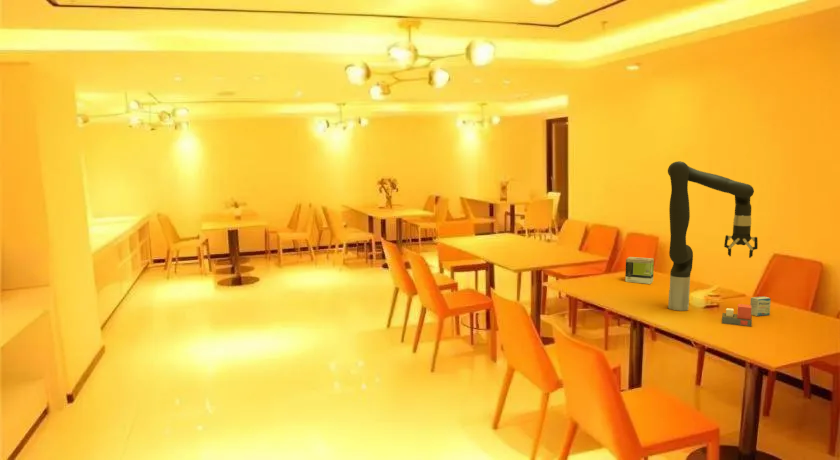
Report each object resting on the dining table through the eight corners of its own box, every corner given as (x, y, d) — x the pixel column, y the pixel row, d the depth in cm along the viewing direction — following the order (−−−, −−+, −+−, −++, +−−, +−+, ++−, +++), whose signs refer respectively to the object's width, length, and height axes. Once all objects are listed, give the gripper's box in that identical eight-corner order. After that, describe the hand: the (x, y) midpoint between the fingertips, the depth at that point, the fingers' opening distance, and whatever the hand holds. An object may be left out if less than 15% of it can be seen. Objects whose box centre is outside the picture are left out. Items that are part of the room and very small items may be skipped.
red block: (737, 318, 262) (738, 306, 261) (737, 315, 266) (738, 303, 266) (750, 319, 259) (751, 307, 258) (750, 316, 264) (751, 305, 263)
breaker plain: (725, 318, 265) (726, 309, 265) (725, 317, 268) (726, 308, 267) (732, 319, 264) (733, 310, 263) (732, 318, 266) (733, 308, 266)
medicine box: (756, 316, 274) (758, 299, 273) (749, 314, 278) (750, 297, 277) (769, 315, 276) (771, 298, 275) (762, 312, 280) (763, 295, 279)
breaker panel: (721, 323, 264) (722, 317, 263) (722, 318, 271) (722, 312, 271) (751, 326, 258) (751, 320, 258) (750, 322, 265) (751, 315, 265)
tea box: (653, 281, 351) (654, 258, 349) (650, 284, 343) (651, 260, 341) (628, 278, 359) (629, 256, 357) (624, 281, 350) (625, 258, 349)
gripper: (725, 224, 276) (723, 257, 278) (759, 226, 269) (756, 259, 271) (725, 222, 283) (723, 254, 285) (758, 224, 276) (756, 256, 278)
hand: (739, 256), depth 278 cm, fingers open, 8 cm apart
